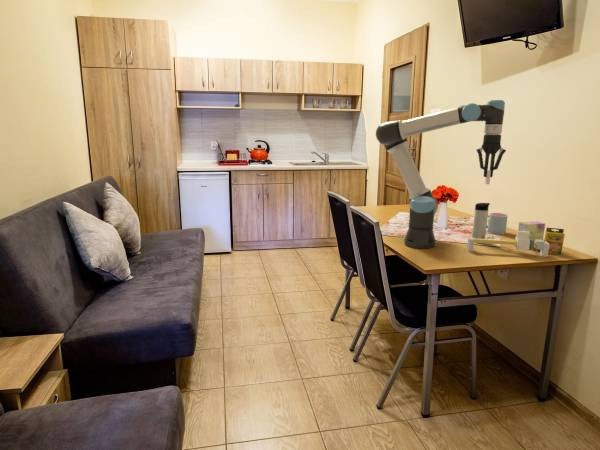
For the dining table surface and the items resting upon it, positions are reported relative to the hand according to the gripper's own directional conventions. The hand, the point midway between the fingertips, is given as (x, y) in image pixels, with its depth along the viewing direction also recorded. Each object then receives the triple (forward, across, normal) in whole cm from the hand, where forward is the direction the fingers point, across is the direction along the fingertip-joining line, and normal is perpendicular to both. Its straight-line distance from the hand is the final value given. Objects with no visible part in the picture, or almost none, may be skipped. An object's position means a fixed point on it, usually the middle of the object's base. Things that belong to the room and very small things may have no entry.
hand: (487, 183), depth 200 cm
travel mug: (+31, 0, +5) cm, 31 cm away
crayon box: (+31, +30, -8) cm, 44 cm away
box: (+31, +23, +2) cm, 38 cm away
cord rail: (+30, +9, -13) cm, 34 cm away
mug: (+31, +11, +27) cm, 42 cm away
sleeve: (+28, +15, -13) cm, 34 cm away
